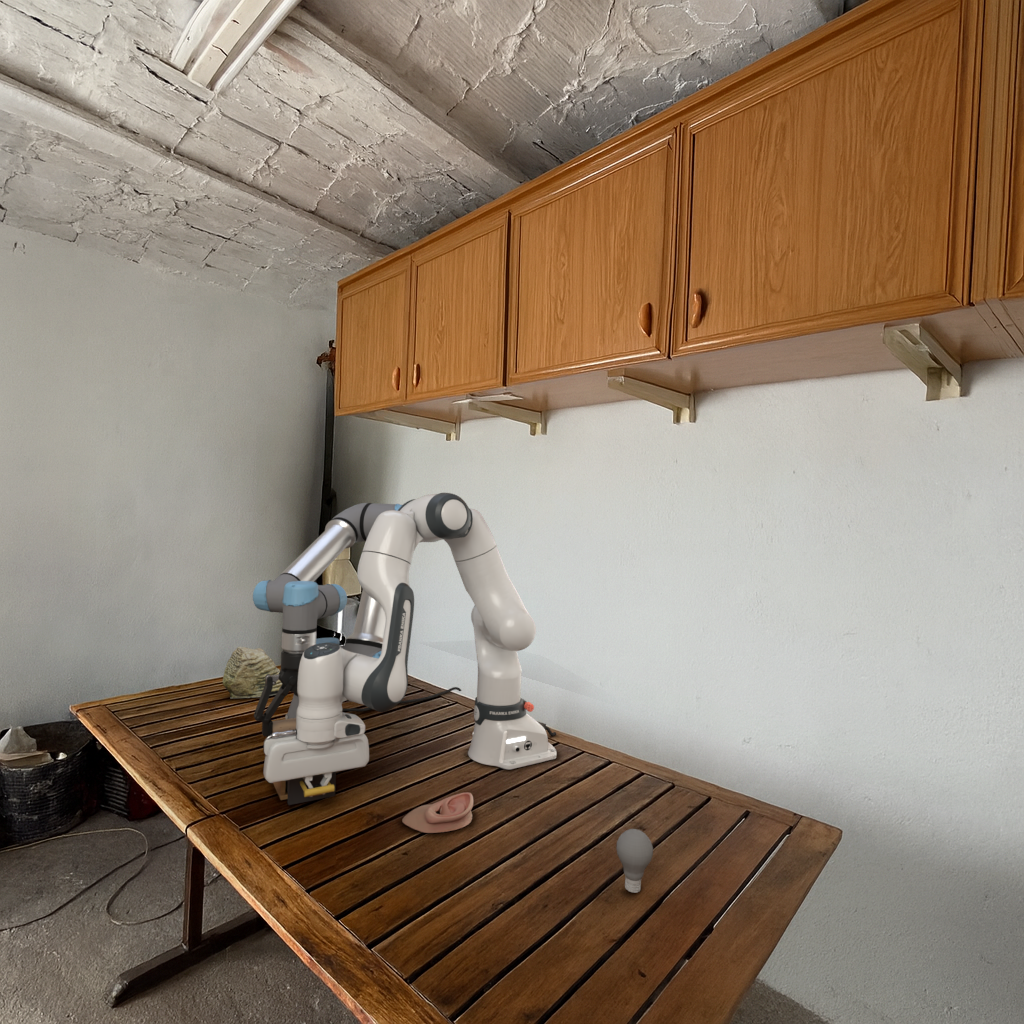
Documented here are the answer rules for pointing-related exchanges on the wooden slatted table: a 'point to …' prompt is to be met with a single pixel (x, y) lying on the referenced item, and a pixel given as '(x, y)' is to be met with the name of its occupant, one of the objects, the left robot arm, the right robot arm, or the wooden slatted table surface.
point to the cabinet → (281, 727)
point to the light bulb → (634, 857)
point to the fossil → (249, 673)
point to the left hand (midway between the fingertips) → (295, 745)
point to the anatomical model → (442, 814)
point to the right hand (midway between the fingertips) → (316, 794)
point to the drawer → (301, 793)
